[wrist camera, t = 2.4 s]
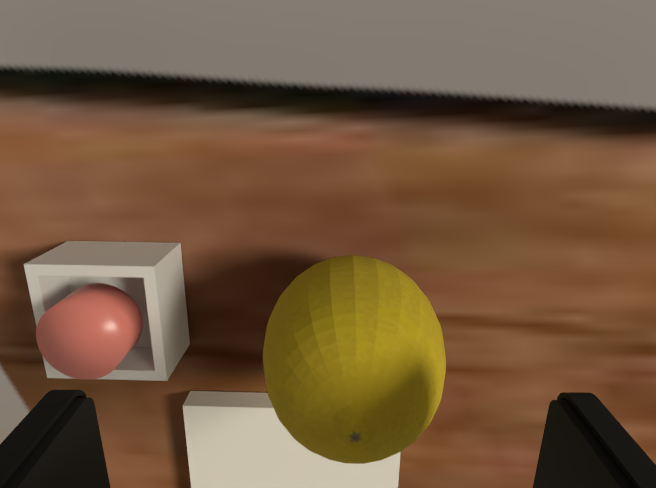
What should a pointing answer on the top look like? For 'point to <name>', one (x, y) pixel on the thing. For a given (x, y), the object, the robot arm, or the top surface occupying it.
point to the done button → (89, 331)
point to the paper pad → (263, 449)
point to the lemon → (354, 359)
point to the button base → (134, 279)
